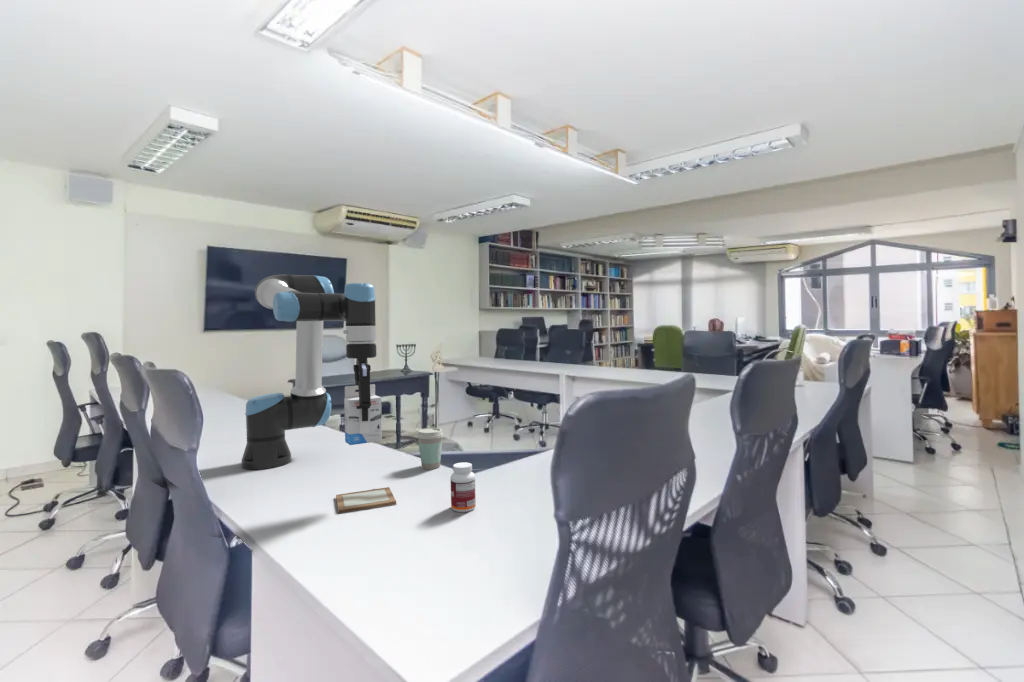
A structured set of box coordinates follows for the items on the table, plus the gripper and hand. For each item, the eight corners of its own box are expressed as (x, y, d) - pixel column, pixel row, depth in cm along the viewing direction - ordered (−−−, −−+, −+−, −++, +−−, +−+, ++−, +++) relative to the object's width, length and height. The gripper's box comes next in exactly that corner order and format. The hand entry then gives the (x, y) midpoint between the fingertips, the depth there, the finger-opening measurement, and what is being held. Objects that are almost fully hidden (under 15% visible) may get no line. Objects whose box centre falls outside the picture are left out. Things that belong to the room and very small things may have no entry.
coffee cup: (441, 470, 152) (441, 432, 152) (415, 470, 152) (414, 433, 152) (446, 462, 161) (445, 427, 160) (420, 463, 161) (419, 427, 160)
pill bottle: (452, 503, 123) (451, 461, 123) (476, 503, 123) (475, 461, 123) (449, 513, 117) (448, 468, 117) (474, 512, 117) (473, 468, 117)
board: (336, 497, 129) (336, 494, 129) (389, 489, 134) (389, 486, 134) (338, 513, 118) (338, 509, 118) (396, 504, 123) (396, 500, 123)
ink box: (349, 445, 121) (348, 388, 121) (344, 442, 125) (343, 386, 125) (382, 441, 126) (381, 385, 125) (376, 437, 130) (375, 383, 130)
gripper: (343, 342, 132) (346, 425, 133) (348, 344, 115) (351, 440, 116) (371, 341, 135) (374, 423, 136) (380, 343, 118) (383, 436, 119)
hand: (363, 430), depth 126 cm, fingers closed on ink box, 5 cm apart
